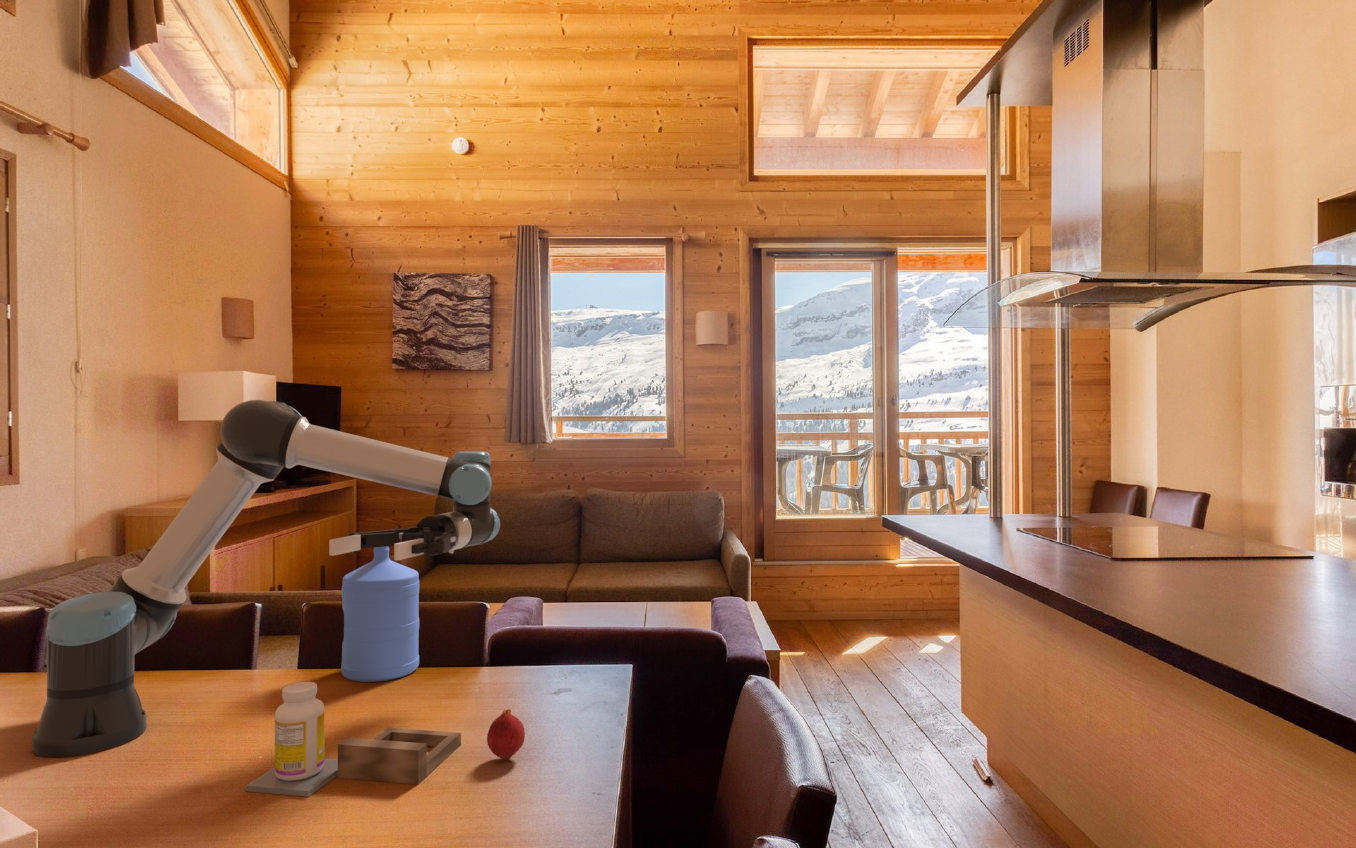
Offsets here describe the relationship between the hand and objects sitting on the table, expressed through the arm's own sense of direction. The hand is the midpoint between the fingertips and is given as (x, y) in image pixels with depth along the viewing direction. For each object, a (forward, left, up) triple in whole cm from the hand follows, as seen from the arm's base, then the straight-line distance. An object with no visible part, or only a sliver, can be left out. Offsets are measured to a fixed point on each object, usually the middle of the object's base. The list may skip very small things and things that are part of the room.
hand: (362, 549), depth 126 cm
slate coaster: (-1, -14, -32) cm, 35 cm away
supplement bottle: (-2, -14, -31) cm, 34 cm away
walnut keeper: (+11, -5, -32) cm, 34 cm away
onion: (+27, -3, -32) cm, 42 cm away
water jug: (-17, +34, -32) cm, 50 cm away
